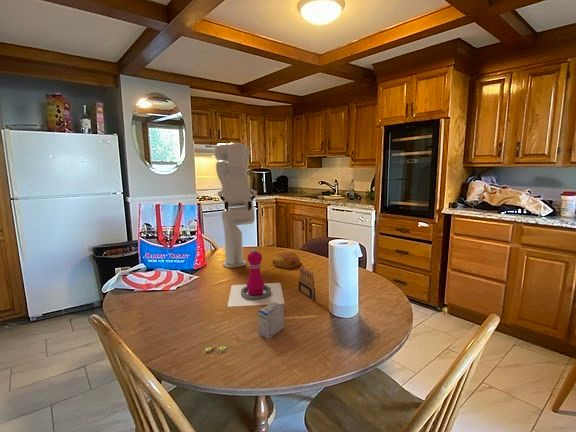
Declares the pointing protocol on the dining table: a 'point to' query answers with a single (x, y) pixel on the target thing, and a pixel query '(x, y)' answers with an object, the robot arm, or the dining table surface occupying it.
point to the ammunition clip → (306, 283)
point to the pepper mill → (255, 273)
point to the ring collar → (256, 297)
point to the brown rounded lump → (286, 260)
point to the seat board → (238, 300)
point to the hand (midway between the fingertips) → (238, 210)
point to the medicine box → (271, 319)
